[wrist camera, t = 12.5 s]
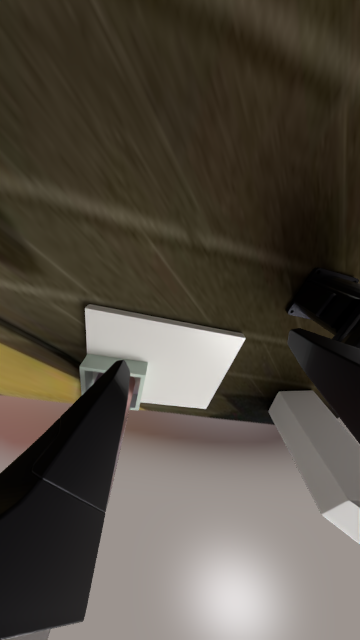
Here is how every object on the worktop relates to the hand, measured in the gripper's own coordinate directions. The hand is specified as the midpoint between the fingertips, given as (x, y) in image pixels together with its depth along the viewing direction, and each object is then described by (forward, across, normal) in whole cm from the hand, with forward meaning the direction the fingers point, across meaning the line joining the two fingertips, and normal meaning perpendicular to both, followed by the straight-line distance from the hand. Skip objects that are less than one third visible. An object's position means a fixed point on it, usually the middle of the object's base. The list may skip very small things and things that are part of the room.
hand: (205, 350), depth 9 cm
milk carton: (+13, -17, +30) cm, 37 cm away
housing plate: (+13, +7, +13) cm, 20 cm away
